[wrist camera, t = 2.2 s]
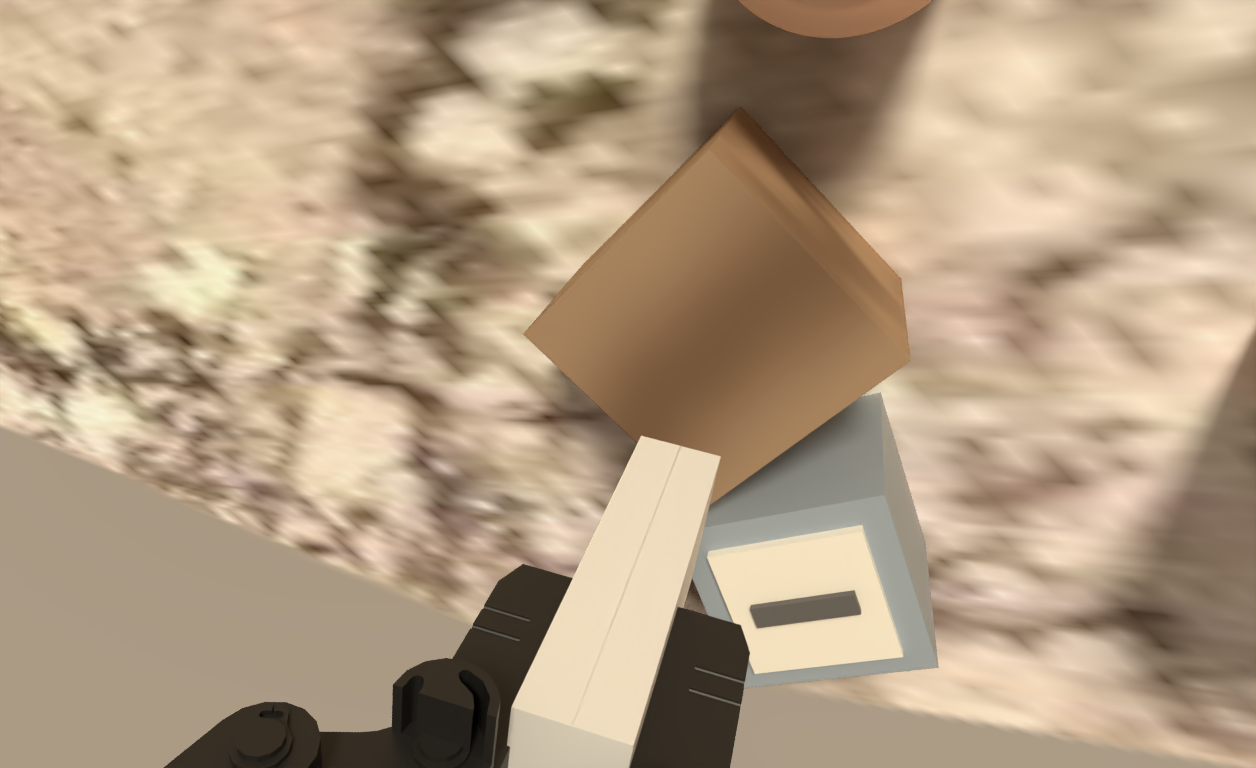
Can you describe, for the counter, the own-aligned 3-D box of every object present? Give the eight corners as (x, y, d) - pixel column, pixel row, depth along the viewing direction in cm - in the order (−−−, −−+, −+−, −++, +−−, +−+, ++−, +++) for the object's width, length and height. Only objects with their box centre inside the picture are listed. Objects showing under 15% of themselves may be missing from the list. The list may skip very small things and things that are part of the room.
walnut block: (585, 262, 28) (523, 334, 23) (740, 106, 25) (709, 149, 20) (733, 408, 30) (705, 508, 24) (900, 277, 26) (910, 360, 21)
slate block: (705, 430, 30) (670, 543, 24) (880, 391, 28) (885, 505, 22) (758, 568, 32) (736, 701, 27) (925, 541, 30) (939, 680, 24)
